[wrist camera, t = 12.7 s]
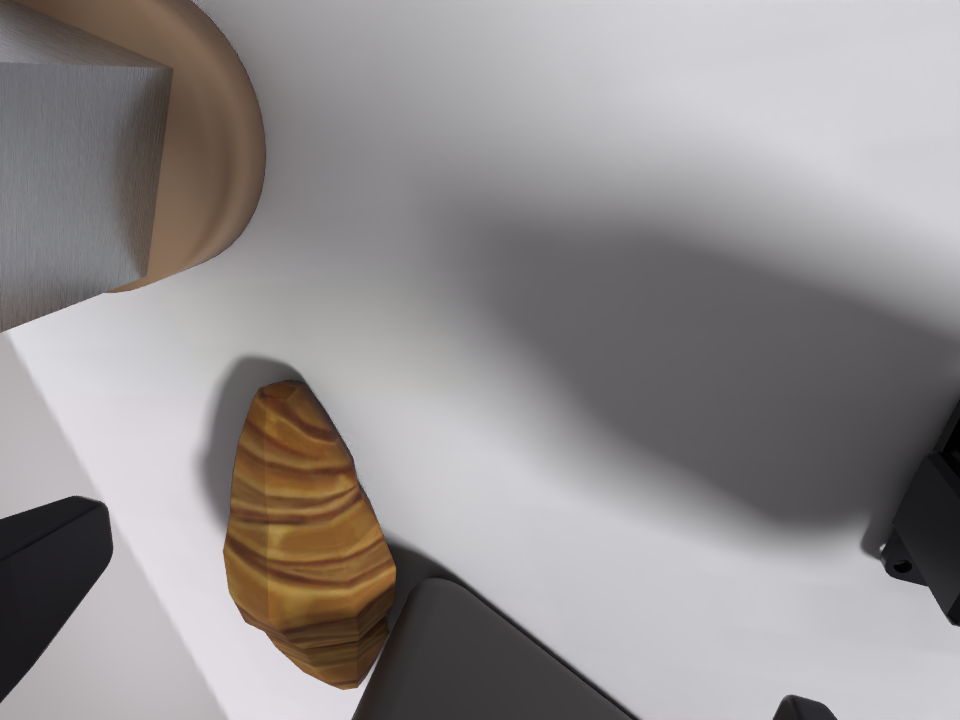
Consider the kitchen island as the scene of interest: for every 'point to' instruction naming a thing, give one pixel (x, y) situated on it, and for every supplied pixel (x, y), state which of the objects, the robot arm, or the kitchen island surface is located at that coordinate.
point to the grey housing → (74, 163)
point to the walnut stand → (187, 125)
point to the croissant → (306, 540)
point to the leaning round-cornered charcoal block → (470, 667)
